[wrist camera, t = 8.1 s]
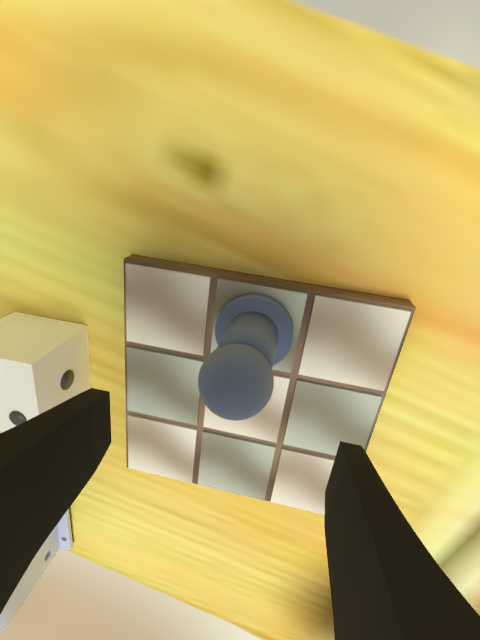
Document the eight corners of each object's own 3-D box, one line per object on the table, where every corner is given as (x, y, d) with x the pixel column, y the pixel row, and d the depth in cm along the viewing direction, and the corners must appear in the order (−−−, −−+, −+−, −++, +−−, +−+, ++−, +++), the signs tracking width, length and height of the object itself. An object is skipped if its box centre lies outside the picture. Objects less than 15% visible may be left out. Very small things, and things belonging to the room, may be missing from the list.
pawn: (286, 368, 19) (274, 458, 13) (215, 354, 20) (172, 435, 14) (299, 300, 18) (293, 366, 12) (221, 287, 18) (176, 344, 12)
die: (93, 391, 24) (43, 442, 19) (26, 376, 25) (-39, 423, 20) (89, 325, 22) (32, 365, 17) (15, 311, 23) (-59, 346, 18)
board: (341, 505, 24) (342, 521, 23) (133, 456, 26) (125, 469, 25) (410, 300, 18) (416, 309, 17) (132, 254, 20) (121, 259, 19)
